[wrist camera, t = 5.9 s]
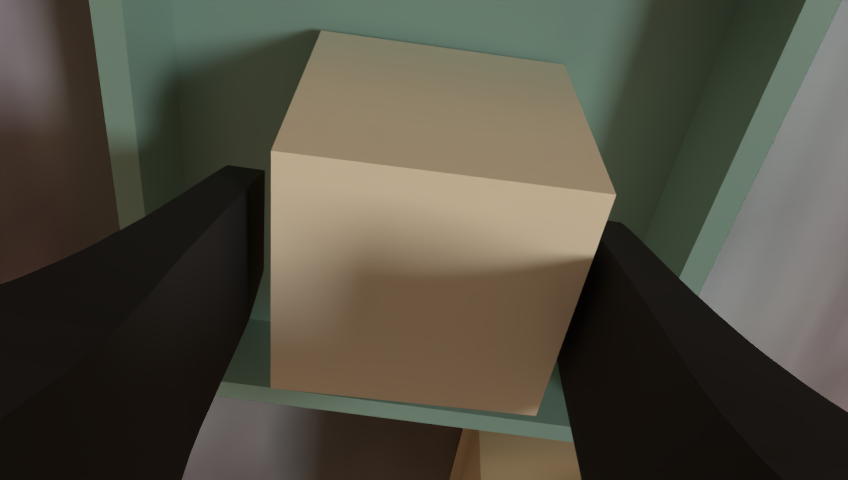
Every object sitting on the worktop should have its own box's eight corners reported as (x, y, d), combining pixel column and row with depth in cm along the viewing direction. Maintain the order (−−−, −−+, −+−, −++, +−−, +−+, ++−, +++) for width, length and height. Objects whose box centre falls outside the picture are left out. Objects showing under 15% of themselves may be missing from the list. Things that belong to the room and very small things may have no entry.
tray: (795, -90, 11) (871, -61, 9) (603, 370, 18) (623, 448, 15) (137, -203, 11) (61, -199, 9) (179, 313, 17) (141, 386, 15)
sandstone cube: (564, 64, 12) (616, 194, 9) (512, 255, 15) (536, 415, 11) (321, 30, 12) (270, 150, 8) (311, 231, 15) (270, 388, 11)
